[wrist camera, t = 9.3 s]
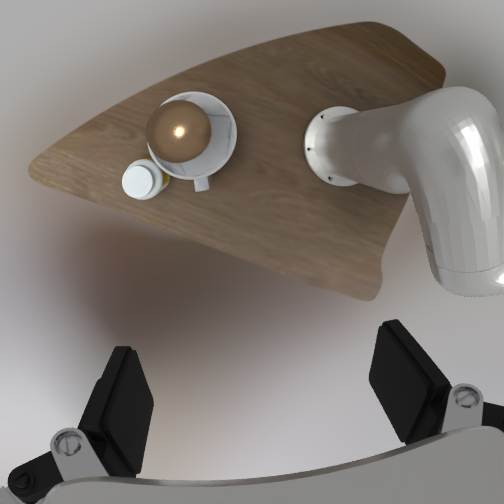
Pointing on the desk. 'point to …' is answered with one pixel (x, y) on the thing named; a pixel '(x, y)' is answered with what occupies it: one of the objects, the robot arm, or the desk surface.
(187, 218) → the desk surface
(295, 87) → the desk surface
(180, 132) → the plunger
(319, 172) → the robot arm
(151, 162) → the supplement bottle
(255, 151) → the desk surface
